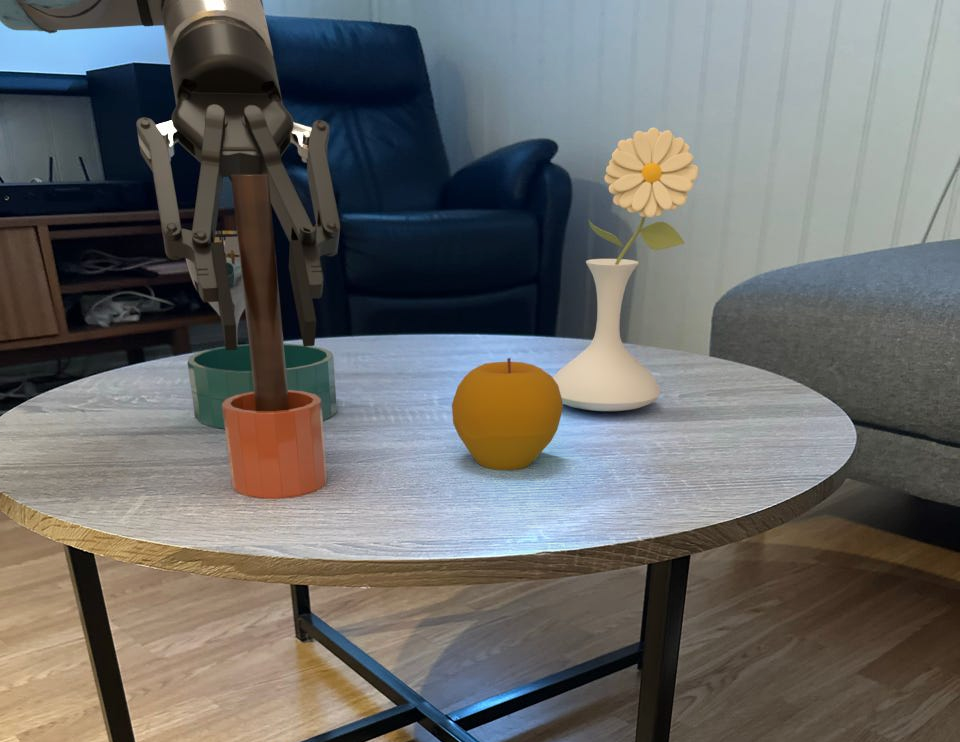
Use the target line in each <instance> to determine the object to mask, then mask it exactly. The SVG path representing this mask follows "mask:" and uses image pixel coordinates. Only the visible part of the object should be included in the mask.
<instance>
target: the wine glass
mask: <svg viewBox="0 0 960 742" xmlns="http://www.w3.org/2000/svg"><path fill="white" fill-rule="evenodd" d="M214 242H222V243H223V249H224V255H225V261H226V267H227V273H228V279H229V285H230V291H231V297H232V303H233V309H234V315H235V321H236V334H237V335H238V327H239V323H240V319H241V317H242V314H243V312H244V311H245V302H244V292H243V283H242V274H241V264H240V255H239V246H238V236H237V230H216V233H215V241H214ZM185 262H186V266H187V269H188V273H189V276H190V278H191V281H192V284H193V286H194V289H195V290H196V292H197V293H198V294H199V287H198V281H197V275H196V270H195V265H194V263H193V262H192V261H191V260H189V259H186V258H185ZM206 303H207V304H208V305H209V306H210V308H212V309H213V310H214V311H215V312H216V314H217V315H218V316H219V317H220V312H219V306H218V302H206Z"/></svg>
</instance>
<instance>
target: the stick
mask: <svg viewBox="0 0 960 742" xmlns="http://www.w3.org/2000/svg"><path fill="white" fill-rule="evenodd" d="M230 179H231V189H232V197H233V198H232V199H233V207H234V217H235V226H236V227H235V228H236V231H237V236H238V246H239V255H240V264H241V274H242V283H243V292H244V302H245V309H244V311H245V319H246V328H247V329H246V330H247V338H248V344H249V348H250V358H251V367H252V376H253V386H254V395H255V405H256V411H281V410H290V409H289V398H288V387H287V376H286V365H285V354H284V344H285V342H284V335H283V334H284V333H283V322H282V312H281V310H282V309H281V300H280V288H279V279H278V278H279V277H278V276H279V275H278V268H277V267H278V266H277V254H276V245H275V232H274V221H273V212H272V211H273V209H272V204H271V199H270V187H269V176H268V174H232V175H231V177H230Z"/></svg>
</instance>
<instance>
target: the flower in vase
mask: <svg viewBox="0 0 960 742" xmlns="http://www.w3.org/2000/svg"><path fill="white" fill-rule="evenodd" d="M690 149H691V148H690V145H689V144H688V142H687V143H686V142H685V139H684V138H683V137H680V136H679V137H675V136H674V135H673V132H672V131H671V130H669V129H666V130H663V131H660V130H659V129H658V128H657V127H650V128H649V129H648V131H644V132H643V131H642V130H636V131H635V132H634V133H633V138H631V137H629V138H627V139H621V140H619V141H618V143H617V147H616V148H615V150H614V151H613V152H612V154H611V159H610V160H609V162H608V165H607V166H606V168H605V171H606V174H605V175H604V182H605V183H606V184H607V185H609V186H608V192H609V193H610V194H611V195H614V197H613V198H612V201H613V204H614V205H615V206H620V207H621V208H622V209H626V210H627V212H629V213H631V214H635V213H636V212H638V214H639V216H640V217H641V220H640V223H639V225H638V227H637V229H636V231H635V232H634V234H633V235H632V237H631V238H630V239H629V241H628V242H627V243H626V245H625V246H624V244H623V243H622V242H621V240H620V239H619V238H618V237H617V236H616V235H615V234H613V233H611V232H609V231H606V230H604V229H601V228H599V227H598V226H596V225H594V223H592V222H591V220H590V219H587V221H588V225H589V226H590V228H591V230H592V231H593V232H594V233H595V234H596V235H598V236H599V237H600V238H602V239H604V240H606V241H608V242H609V243H612V244H614V245H617V246H619V247H621V248H623V249H622V250H621V252H620V253H619V255H618V257H617V258H593V259H588V260H585V263H586V265H587V267H588V269H589V270H590V272H591V275H592V277H593V281H594V284H595V291H596V301H597V304H596V306H597V307H596V308H597V309H596V310H597V311H596V312H597V313H596V314H597V315H596V318H597V319H596V327H595V331H594V336H593V338H592V340H591V343H589V344H588V345H587V347H586V348H585V349H584V350H582V351H581V352H580V353H579V354H578V355H576V356H575V357H574V358H573V359H572V360H570V361H569V362H568V363H566V364H565V365H564V366H563V367H562V368H560V369H559V370H558V371H557V372H556V373H555V374H554V375H553V376H552V378H553V379H554V380H555V382H556V383H557V384H558V386H559V390H560V394H561V398H562V405H565V406H568V407H570V408H576V409H581V410H585V411H587V410H588V411H595V412H621V411H631V410H636V409H640V408H643V407H646V406H648V405H651V404H653V403H654V402H655V401H657V399H658V398H659V396H660V395H661V388H660V386H659V382H658V380H656V378H655V377H654V375H653V374H652V373H651V372H650V371H649V370H648V369H647V368H646V367H645V366H644V365H643V364H642V363H641V362H640V361H639V360H638V359H636V357H634V356H633V355H632V354H631V352H630V351H628V349H627V348H626V346H625V345H624V344H623V341H622V338H621V331H620V327H621V325H620V324H621V323H620V321H621V311H622V306H623V305H622V304H623V298H624V295H625V291H626V287H627V284H628V282H629V279H630V277H631V275H632V274H633V272H634V271H635V269H636V268H637V267H638V265H639V264H640V262H639V261H637V260H634V259H633V260H632V259H626V258H625V259H624V255H625V254H626V252H627V251H628V250H629V249H630V247H631V245H633V243H634V241H635V240H636V239H637V237H638V235H639V234H640V238H641V239H642V241H644V243H645V244H646V246H647V247H648V248H649V249H651V250H653V251H659V250H666V249H669V248H673V247H678V246H681V245H683V244H685V241H684V240H683V238H682V237H681V235H680V233H679V232H678V231H677V230H676V228H674V227H673V226H672V225H670V224H668V222H665V221H656V222H653V223H651V224H648V225H646V226H644V223H645V221H646V217H647V218H654V217H659V216H661V215H662V214H663V211H669V210H670V211H674V210H676V209H678V207H680V206H681V207H682V206H683V205H685V204H686V201H687V200H688V198H689V194H688V192H690V191H691V190H692V189H694V185H695V183H694V181H696V180H697V178H698V173H699V167H698V166H697V165H695V164H692V163H693V162H694V160H695V158H694V155H693V154H692V153H691V152H689V151H690ZM643 226H644V227H643Z"/></svg>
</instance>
